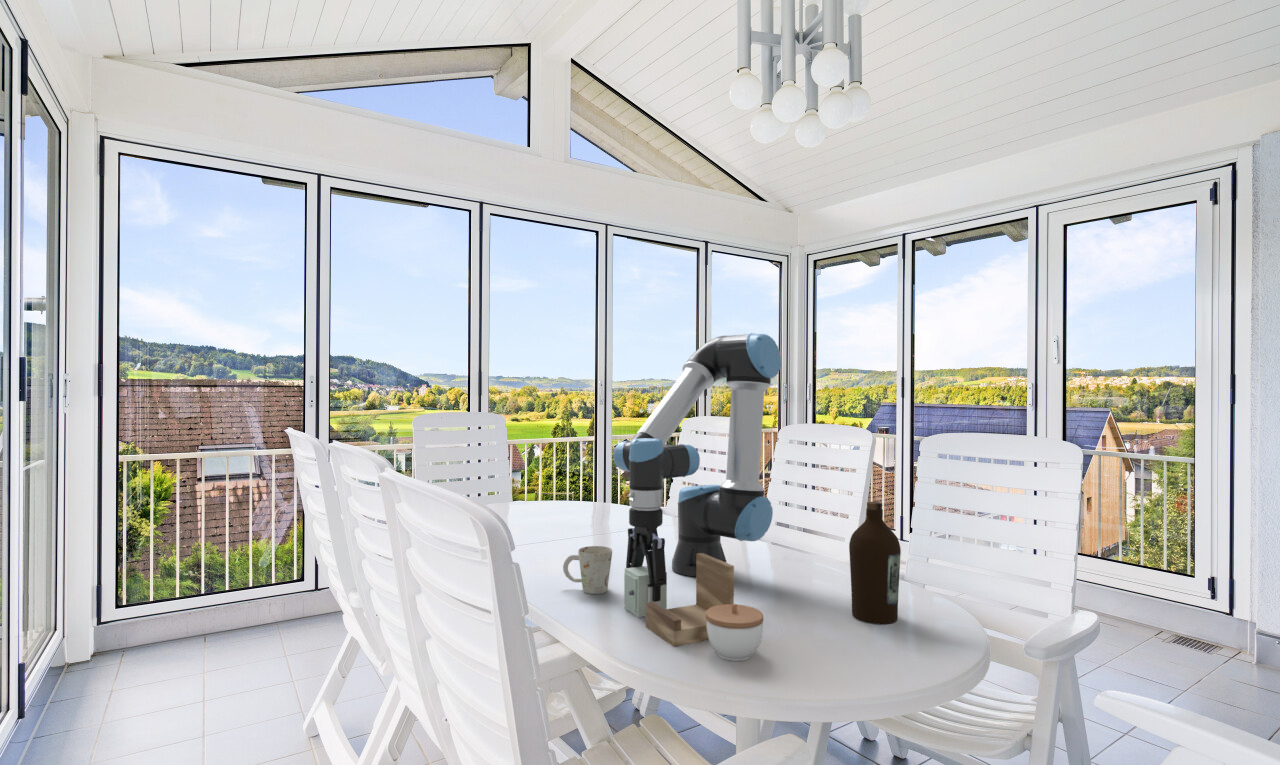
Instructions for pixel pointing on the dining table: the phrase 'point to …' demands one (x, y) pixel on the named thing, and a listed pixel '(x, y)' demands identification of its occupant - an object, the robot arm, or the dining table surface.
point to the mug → (592, 568)
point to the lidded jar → (734, 630)
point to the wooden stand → (691, 620)
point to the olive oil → (874, 569)
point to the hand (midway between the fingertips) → (645, 609)
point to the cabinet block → (639, 590)
